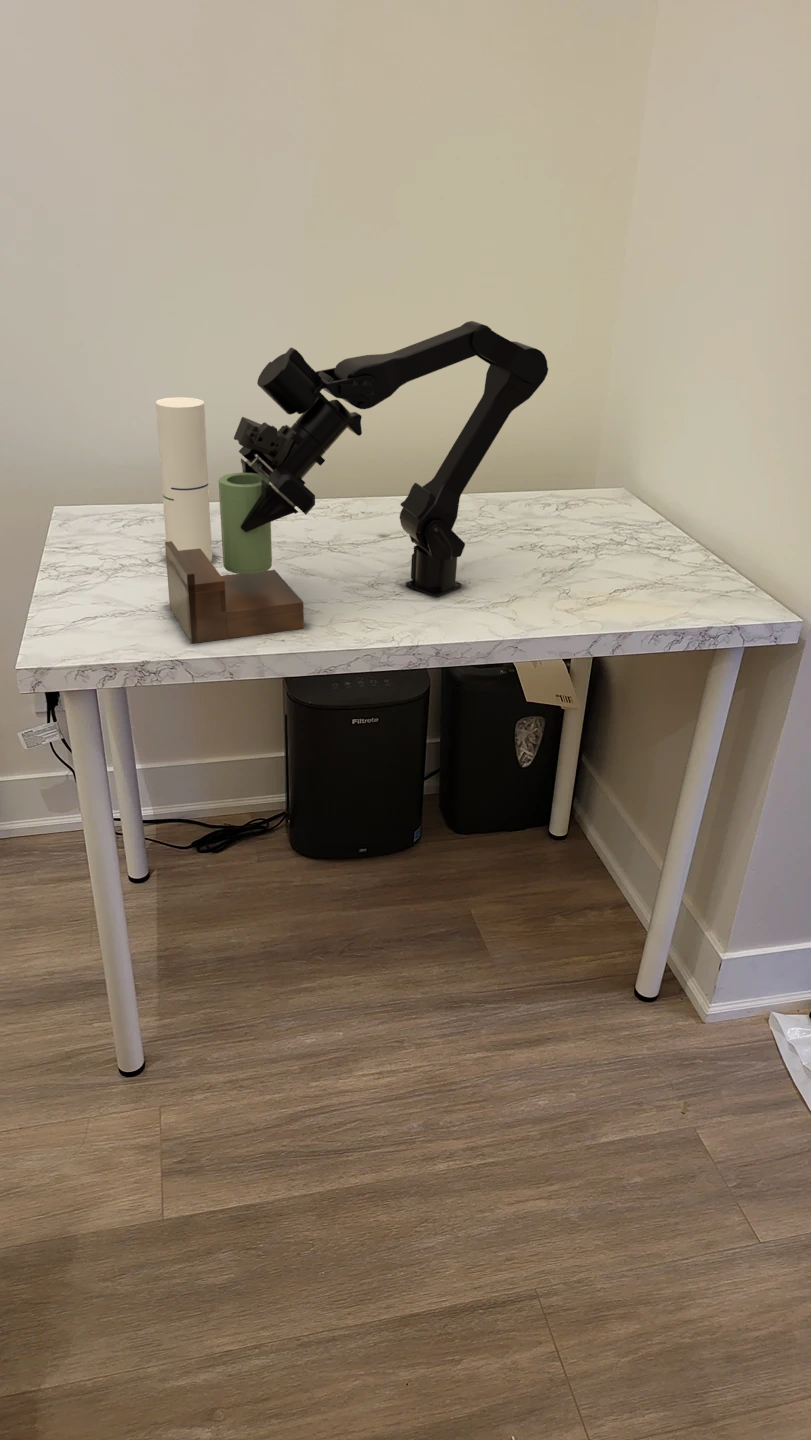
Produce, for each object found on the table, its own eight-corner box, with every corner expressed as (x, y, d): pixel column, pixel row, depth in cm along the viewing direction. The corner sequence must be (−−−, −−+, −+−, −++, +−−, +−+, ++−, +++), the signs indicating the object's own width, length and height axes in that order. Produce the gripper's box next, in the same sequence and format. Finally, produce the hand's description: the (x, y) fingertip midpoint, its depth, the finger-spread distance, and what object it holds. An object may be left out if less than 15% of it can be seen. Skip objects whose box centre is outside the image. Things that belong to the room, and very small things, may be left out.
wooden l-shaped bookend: (275, 594, 156) (273, 530, 151) (303, 628, 146) (303, 561, 141) (169, 607, 150) (164, 541, 146) (191, 643, 140) (186, 574, 135)
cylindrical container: (202, 569, 164) (193, 409, 152) (160, 564, 165) (147, 405, 153) (218, 554, 170) (211, 399, 158) (177, 549, 171) (167, 395, 159)
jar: (280, 561, 149) (277, 476, 143) (257, 577, 144) (253, 489, 138) (239, 554, 151) (235, 470, 145) (214, 569, 146) (209, 482, 140)
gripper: (250, 382, 145) (177, 466, 147) (290, 412, 130) (209, 505, 132) (304, 435, 152) (234, 515, 153) (348, 469, 137) (270, 557, 138)
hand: (236, 521), depth 144 cm, fingers closed on jar, 7 cm apart
